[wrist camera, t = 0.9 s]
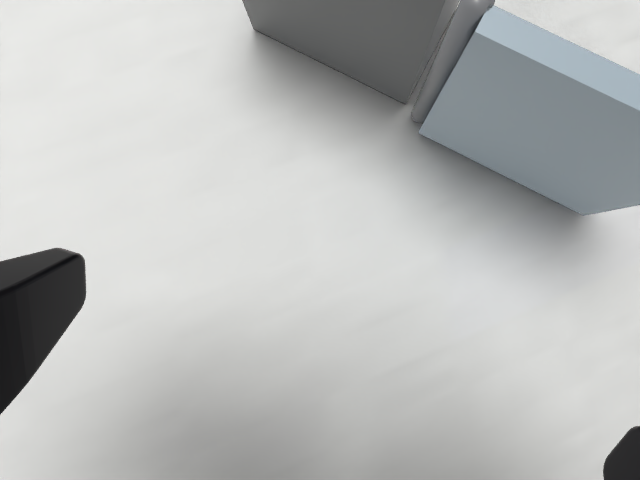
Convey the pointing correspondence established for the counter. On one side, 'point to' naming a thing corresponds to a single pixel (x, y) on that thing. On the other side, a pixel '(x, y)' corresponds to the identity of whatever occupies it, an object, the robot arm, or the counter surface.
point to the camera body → (360, 36)
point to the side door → (535, 109)
